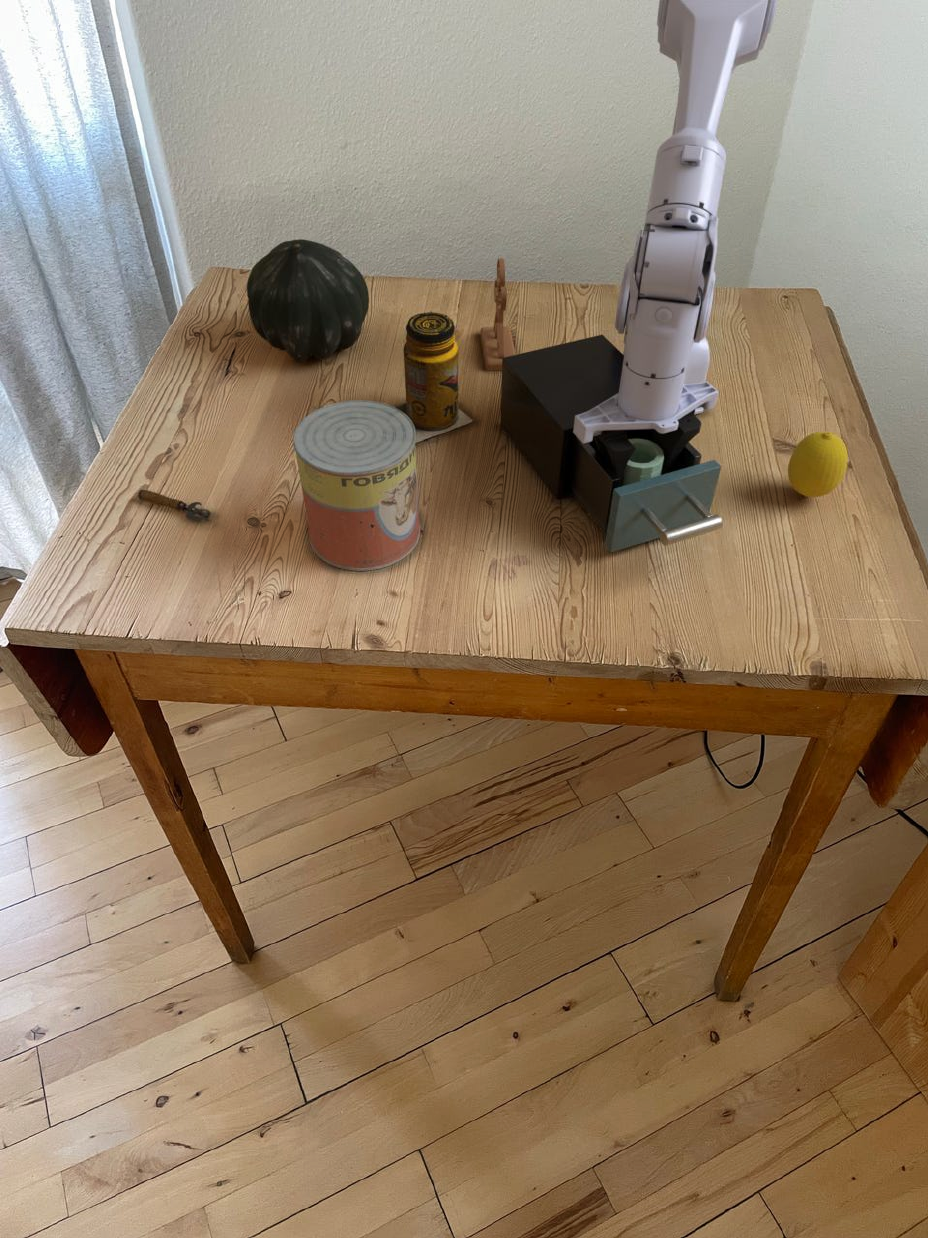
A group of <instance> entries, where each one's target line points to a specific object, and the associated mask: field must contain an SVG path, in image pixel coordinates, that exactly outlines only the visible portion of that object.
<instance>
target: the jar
mask: <svg viewBox="0 0 928 1238" xmlns="http://www.w3.org/2000/svg"><path fill="white" fill-rule="evenodd" d="M628 440H629V441H630V442H631V443H632V445H633V446H634V447H635V448H636V449H635V450H634V452H633V453H632V455H631V457H630V459H629V461H628V463H627V466H626V469H625V474H624V479H623V484H622V486H625V485H629V484H632V483H636V482H639V481H642V480H646V479H649V478H653V477H656V476H660V475H661V470H662V465H663V460H664V454H663V450H662V449H661V448H660V447H659V446H658V445H657V444H655V443H653V442H651V441H649V440H644V439H628Z"/></svg>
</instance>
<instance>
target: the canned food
mask: <svg viewBox="0 0 928 1238" xmlns="http://www.w3.org/2000/svg"><path fill="white" fill-rule="evenodd" d="M395 407H396V406H392V405H390V404H387V403H384V402H379V401H374V400H364V399H353V400H343V401H339V402H338V401H337V402H334V403H331V404H328V405H324V406H322V407H319V408H317V409H316V410H314V411H312V412H310V413H309V414H308V415H306V416H305V417H304V418H302V420H301V421H300V422H299V423H298V424H297V426H296V427H295V429H294V432H293V436H292V444H293V446H292V447H293V449H294V452H295V456H296V462H297V463H296V464H297V468H298V475H299V480H300V486H301V493H302V499H303V505H304V511H305V516H306V522H307V528H308V538H309V540H308V541H309V544H310V546H311V549H312V551H313V552H314V554H316V556H317V557H318V558H320V559H321V560H322V561H323V562H325V563H327V564H329V565H331V566H333V567H336V568H339V569H342V570H346V571H347V570H348V571H357V572H365V571H375V570H380V569H383V568H387V567H390V566H392V565H394V564H397V563H399V562H400V561H402V560H403V559H405V558H406V557H407V556H408V555H410V553H412V552H413V551H414V549H415V548H416V547H417V545H418V544H419V540H420V537H421V523H420V513H419V512H420V511H419V494H418V474H417V473H418V472H417V471H418V470H417V452H416V451H417V450H416V448H417V447H416V443H415V440H416V430H415V427H414V424H413V422H412V421H411V419H410V418H409V417H408V416H407V415H406V414H405V413H403V412H402V411H400V410H399V409H397V408H395Z"/></svg>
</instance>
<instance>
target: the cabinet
mask: <svg viewBox="0 0 928 1238" xmlns="http://www.w3.org/2000/svg"><path fill="white" fill-rule="evenodd" d="M623 360H624V355H623V352H621V351H620V349H618V348H617V347H616V346H615V345H614V344H613V343H612V342H611V341H610V340H609V339H608V338H607V337H606V336H605V335H604V334H599V335H598V334H597V335H593V336H590V337H589V336H588V337H586V338H581V339H577V340H573V341H567V342H564V343H561V344H560V343H559V344H555V345H552V346H547V347H543V348H538V349H533V350H530V351H526V352H521V353H517V354H516V355H513V356H508V357H504V358H502V370H501V384H500V408H499V409H500V411H499V428H501V430H502V431H503V432H504V434H505V435H506V436H507V437H508V439H509V440H510V441H511V442H512V444H513V445H514V447H515V449H517V450H518V452H519V453H520V454H521V456H522V457H523V458H524V460H525V461H526V462H527V463H528V464H529V466H530V467H531V468H532V470H533V471H534V472H535V474H536V475H537V476H538V477H539V479H540V480H541V481H542V483H543V484H544V486H546V488H547V489H548V490H549V492H550V493H551V494H552V496H553V497H554V498H555V500H557V501H559V500H563V499H566V498H569V497H572V496H573V495H572V493H571V492H570V491H569V490H568V488H567V487H566V486H565V485H564V481H565V472H566V462H567V453H568V443H569V434H573V430H574V421H575V415H579V414H582V413H584V412H587V411H589V410H591V409H593V408H594V407H596V406H598V405H599V404H601V403H603V402H604V401H606V400H608V399H609V398H611V397H613V396H614V395H616V394H618V393H619V388H620V381H621V374H622V367H623ZM573 497H574V496H573Z"/></svg>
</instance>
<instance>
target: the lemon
mask: <svg viewBox="0 0 928 1238" xmlns="http://www.w3.org/2000/svg"><path fill="white" fill-rule="evenodd" d="M848 457H849V456H848V450H847V447H846V444H845V442H844V441H843V440H842V439H841V438H840V437H839V436H838V435H836V434H834V433H833V432H831V431H817V432H813V433H810V434H808V435H806V436H805V437H803V438H802V440H800V442H799V443H798V444H797V445H796V446H795V448H794V450H793V451H792V453H791V456H790V458H789V462H788V466H787V477H788V481H789V483H790V485H791V486H792V488H793V489H794V490H795V491H796V493H798V494H800V495H802V496H803V497H805V498H818V497H823V496H825V495H828V494H830V493H831V492H832V491H834V490H835V489H836V488H838V486H839V484H840V483H841V481H843V479H844V476H845V474H846V471H847V467H848Z"/></svg>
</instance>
